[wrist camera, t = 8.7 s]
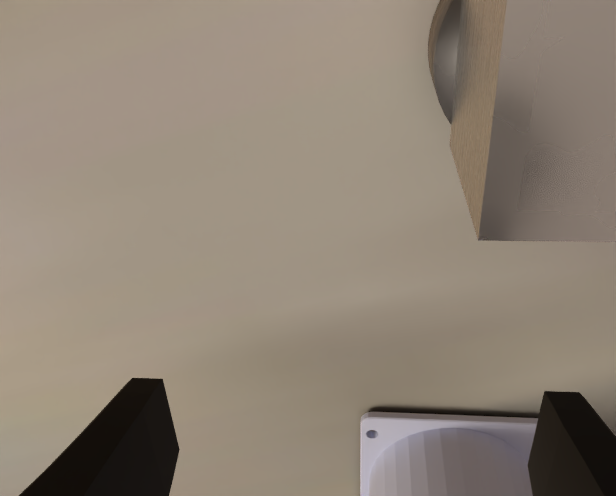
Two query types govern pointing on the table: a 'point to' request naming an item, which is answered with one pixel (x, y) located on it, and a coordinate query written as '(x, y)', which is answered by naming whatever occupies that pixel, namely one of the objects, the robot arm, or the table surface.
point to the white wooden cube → (537, 118)
